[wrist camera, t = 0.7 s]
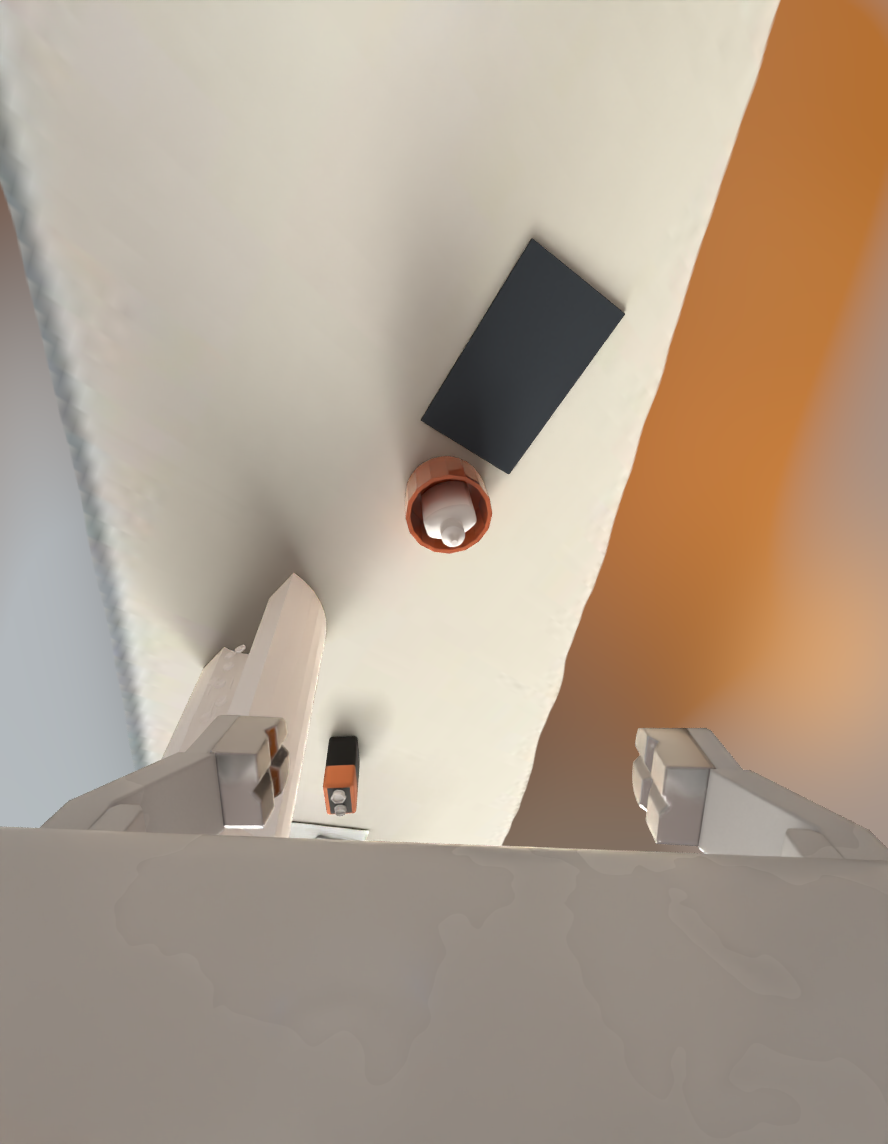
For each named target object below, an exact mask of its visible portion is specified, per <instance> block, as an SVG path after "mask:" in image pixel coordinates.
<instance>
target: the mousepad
mask: <svg viewBox="0 0 888 1144" xmlns="http://www.w3.org/2000/svg"><path fill="white" fill-rule="evenodd" d="M368 832H369V831H364V830H355V829H346V828H338V827H329V826H320V825H311V824H303V823H294V822H292V823H291V828H290V834H289V838H310V839H336V840H362V841H365V840H366V838H367V835H368Z"/></svg>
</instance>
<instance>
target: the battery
mask: <svg viewBox="0 0 888 1144" xmlns="http://www.w3.org/2000/svg"><path fill="white" fill-rule="evenodd" d="M358 778H359V751H358V740H357V737H356V736H346V737H331V738H330V739H329V746H328V753H327V760H326V768H325V775H324V782H323V790H324V797H325V804H326V810H327V813H328V814H336V815H337V816H343V815H345V813H355V812H356V806H357V792H358Z"/></svg>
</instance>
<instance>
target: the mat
mask: <svg viewBox="0 0 888 1144" xmlns="http://www.w3.org/2000/svg"><path fill="white" fill-rule="evenodd" d="M624 315H625V313H623V312H622V311H621V310H620V309H618V308H617V307H616V306H615V305H614V304H612V303H611V302H610V301H609V300H607V299H606V298H605V297H604V296H603V295H601V294H600V293H599V292H598V291H596V290H595V289H594V288H593V287H591V286H590V285H589V284H588V283H587V282H585V281H584V280H583V279H582V278H580V277H579V276H578V275H577V274H576V273H574V272H573V271H572V270H571V269H569V268H568V267H567V266H566V265H565V264H563V263H562V262H561V261H560V260H558V259H557V258H556V257H555V256H554V255H552V254H551V253H550V252H549V251H547V250H546V249H545V248H544V247H542V246H541V245H540V244H539V243H538V242H536V241H535V240H534V239H531V240H530V242H529V243H528V245H527V247H526V248H525V250H524V252H523V253H522V255H521V257H520V258H519V260H518V261H517V263H516V265H515V266H514V268H513V270H512V271H511V273H510V275H509V276H508V278H507V280H506V281H505V283H504V284H503V286H502V288H501V289H500V291H499V293H498V294H497V296H496V298H495V299H494V301H493V302H492V304H491V306H490V307H489V309H488V311H487V312H486V314H485V316H484V317H483V319H482V321H481V322H480V324H479V325H478V327H477V329H476V330H475V332H474V334H473V335H472V337H471V339H470V340H469V342H468V343H467V345H466V347H465V348H464V350H463V352H462V353H461V355H460V357H459V358H458V360H457V361H456V363H455V365H454V366H453V368H452V370H451V371H450V373H449V375H448V376H447V378H446V380H445V381H444V383H443V384H442V386H441V388H440V389H439V391H438V393H437V394H436V396H435V398H434V399H433V401H432V402H431V404H430V406H429V407H428V409H427V411H426V412H425V414H424V416H423V417H422V419H421V421H422V422H424V423H426V424H427V425H429V426H431V427H432V428H434V429H435V430H437V431H439V432H440V433H442V434H444V435H445V436H447V437H448V438H450V439H452V440H453V441H455V442H457V443H458V444H460V445H462V446H463V447H465V448H466V449H468V450H470V451H471V452H473V453H475V454H476V455H478V456H479V457H481V458H483V459H484V460H486V461H488V462H489V463H491V464H493V465H494V466H496V467H497V468H499V469H501V470H502V471H504V472H506V473H507V474H510V472H511V471H512V470H513V468H514V467H515V465H516V464H517V463H518V461H519V460H520V459H521V457H522V456H523V454H524V453H525V452H526V450H527V449H528V448H529V446H530V445H531V443H532V442H533V441H534V439H535V438H536V436H537V435H538V434H539V432H540V431H541V430H542V428H543V427H544V425H545V424H546V423H547V421H548V420H549V418H550V417H551V416H552V414H553V413H554V412H555V410H556V409H557V407H558V406H559V405H560V403H561V402H562V401H563V399H564V398H565V396H566V395H567V394H568V392H569V391H570V389H571V388H572V387H573V385H574V384H575V383H576V381H577V380H578V378H579V377H580V376H581V374H582V373H583V371H584V370H585V369H586V367H587V366H588V365H589V363H590V362H591V360H592V359H593V358H594V356H595V355H596V354H597V352H598V351H599V349H600V348H601V347H602V345H603V344H604V342H605V341H606V340H607V338H608V337H609V336H610V334H611V333H612V331H613V330H614V329H615V327H616V326H617V325H618V323H619V322H620V320H621V319H622V318H623V316H624Z"/></svg>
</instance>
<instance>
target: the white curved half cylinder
mask: <svg viewBox="0 0 888 1144" xmlns="http://www.w3.org/2000/svg"><path fill="white" fill-rule="evenodd" d="M326 627H327V623H326V617H325V612H324V610H323V607H322V605H321V602H320V600H319V599H318V597H317V596H316V594H315V592H314V591H313V590H312V589H311V588H310V587H309V586H308V584H307V583H306V582H305V581H304V580H302V579H301V578H300V577H299V576H297V575H296V574H295V573H293V574H292V575H291V576H290V577H289V578H288V579H287V580H286V581H285V582H284V583H283V584H282V585H281V587H280V588H279V589H278V590H277V591H276V592H275V593H274V594H273V595H272V596H271V597H270V598H269V601H268V603H267V606H266V609H265V612H264V614H263V617H262V620H261V623H260V625H259V628H258V631H257V634H256V636H255V639H254V642H253V645H252V647H251V650H250V653H249V654H244V653H240V652H242V651H244V650H245V649H246V647H245V645H240V646H238V647H237V648H236V649H235V651H232V650H230V649H228V648H225V647H223V648H222V649H221V651H220V652H219V653H218V654H217V655H216V656H215V657H214V658H213V659H212V660H211V661H210V662H209V663H208V664H207V665H206V666H205V668H204V669H203V670H202V672H201V675H200V677H199V679H198V681H197V683H196V685H195V688H194V690H193V692H192V694H191V696H190V698H189V701H188V703H187V705H186V707H185V709H184V711H183V714H182V716H181V718H180V720H179V722H178V724H177V727H176V729H175V731H174V733H173V735H172V737H171V740H170V742H169V744H168V746H167V748H166V750H165V753H164V755H163V757H162V759H164V758H166V757H169V756H171V755H173V754H175V753H178V752H186V751H187V749H188V748H189V747H190V746H191V745H192V744H193V743H194V742H195V741H196V739H197V738H198V737H199V736H200V735H201V734H202V733H203V732H204V730H205V729H206V728H207V727H208V726H209V725H210V724H211V723H212V722H213V720H214V719H215V718H216V717H217V716H220V715H241V716H261V717H282V718H284V719H285V721H286V724H287V733H288V735H287V737H286V739H285V740H284V742H283V745H284V746H285V748H286V749H287V750H288V751H289V758H290V765H289V775H288V779H287V783H286V786H285V788H284V790H283V792H282V794H280V795H279V796H277V797H276V798H274V806H275V808H274V809H273V811H272V813H271V815H270V817H269V819H268V821H267V823H266V825H265V826H264V828H263V829H237V828H224V831H223V832H221V833H220V834H219V835H232V836H258V837H284V838H289V834H290V828H291V823H292V817H293V812H294V807H295V801H296V796H297V790H298V785H299V779H300V774H301V768H302V763H303V758H304V752H305V747H306V741H307V736H308V730H309V725H310V719H311V714H312V709H313V703H314V698H315V692H316V687H317V681H318V676H319V670H320V665H321V660H322V654H323V649H324V643H325V638H326ZM162 759H161V760H162Z"/></svg>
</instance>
